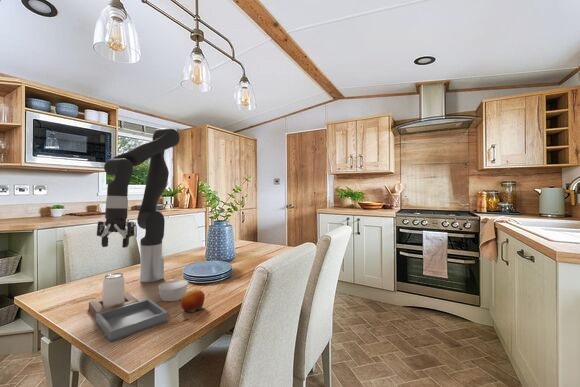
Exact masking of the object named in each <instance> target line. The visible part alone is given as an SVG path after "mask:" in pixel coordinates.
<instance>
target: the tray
mask: <svg viewBox="0 0 580 387" xmlns="http://www.w3.org/2000/svg"><path fill="white" fill-rule="evenodd" d="M138 301H139V302H135V303H132V304H128V305H125V306H121V307H118V308H114V309H111V310H108V311H104V312H101V313H97V314H96V317H95V324H96V325H97V326H98V328H99V329H100V331H101V332H102V333H103V335H104V336H105V337H106V339H107V340H108V342H109V343H113V342H115V341H118V340H121V339H123V338H126V337H129V336H132V335H134V334H137V333H140V332H143V331H145V330H147V329H151V328H153V327H156V326H159V325H161V324H164V323H166V322H168V321H169V319H168V318H169V317H168V316H169V312H168V311H167V310H166V309H164V308H163V307H161V306H160V305H159V304H157V303H156V302H155V301H153V300H152V299H150V298H146V299H143V300H138Z"/></svg>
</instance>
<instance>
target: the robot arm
mask: <svg viewBox="0 0 580 387" xmlns="http://www.w3.org/2000/svg"><path fill="white" fill-rule="evenodd" d="M179 142H180V133H179V132H178V130H176V129H174V128H170V127H169V128H168V127H167V128H166V127H165V128H163V127H162V128H156V129H155V130H154V132H153V134H152V141H148V142H144V143H141V144H139V145H137V146H135V147H133V148H131V149H129V150H128V151H127V152H125V153H121V154H119V155H117V156H114V157H111V158H109V159H107V161H106V162H105V163H104V165H103V170H104V171H105V173H106V174H108V175H109V176H113V177H114V179H113V180H112V181H110V182H108V184H107V188H106V189H107V190H106V199H105V200H106V201H105V212H104V213H105V214H104V218H105V220H99V221H98V222H97V228H96V237H100V238H101V247H102V248H105V247H106V248H107V247H108V246H109V235H110V234H112V233H118V234H119V235H121V237H122V248H123V249H125V248H128V246H129V244H130V238H131V237H134V236H135V221H127V218H128V210H129V206H128V205H129V199H128V198H129V197H128V192H129V184H130V183H131V182H130V181H131V179H132V176H133V172H134V167H139V166H140V165H141V164H143V163H144V162H146V161H148V160H149V159H150V161H149V167H148V172H147V176H146V182H145V188H144V192H143V197H142V202H141V206H140V208H139V211H138V215H137V220H136V221H137V225H138V227H139V228H140V229H143V230H145V233H144V234H145V235H144V236H143V237H141V238H140V241H139V242H140V249H139V250H140V251H139V252H140V255H139V256H140V262H139V263H140V265H139V266H140V271H139V272H140V282H141V283H154V282H158V281H160V280H162V279H164V278H165V277H164V276H165V266H164V265H165V259H164V258H163V239H164V236H165V225H166V224H165V222H166V221H165V216H164V214H163V213H162V212H161V211H158V210H157V207H158V206H157V205H158V201H159V199H160V198H161V197H162V195H163V193H164V192H165V190H166V189H167V185H168V180H169V175H170V172H169V168H168V165H167V163H166V161H165V151H166V150H168V149H171V148H173V147H176V146H177V145H178V144H179Z"/></svg>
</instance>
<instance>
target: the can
mask: <svg viewBox="0 0 580 387" xmlns="http://www.w3.org/2000/svg"><path fill="white" fill-rule="evenodd" d="M125 286H126V285H125V277H124V273H121V272H115V273H110V274H106V275H105V276H104V279H103V282H102V298H103V307H104V308H106V307H110V306H113V305H117V304H121V303H124V302H125V290H126V289H125Z"/></svg>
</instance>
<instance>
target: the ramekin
mask: <svg viewBox="0 0 580 387" xmlns="http://www.w3.org/2000/svg"><path fill="white" fill-rule="evenodd" d="M188 286H189V281H187V280H186V279H185V280H184V279H173V280H168V281H163V282H162V283H160V284H158V287H157V290H158V293H159V298H160V300H161V301H163V302H175V301H179V300H180V301H181V299H182V297H183V296H184V295H185V294H186V293H188Z"/></svg>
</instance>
